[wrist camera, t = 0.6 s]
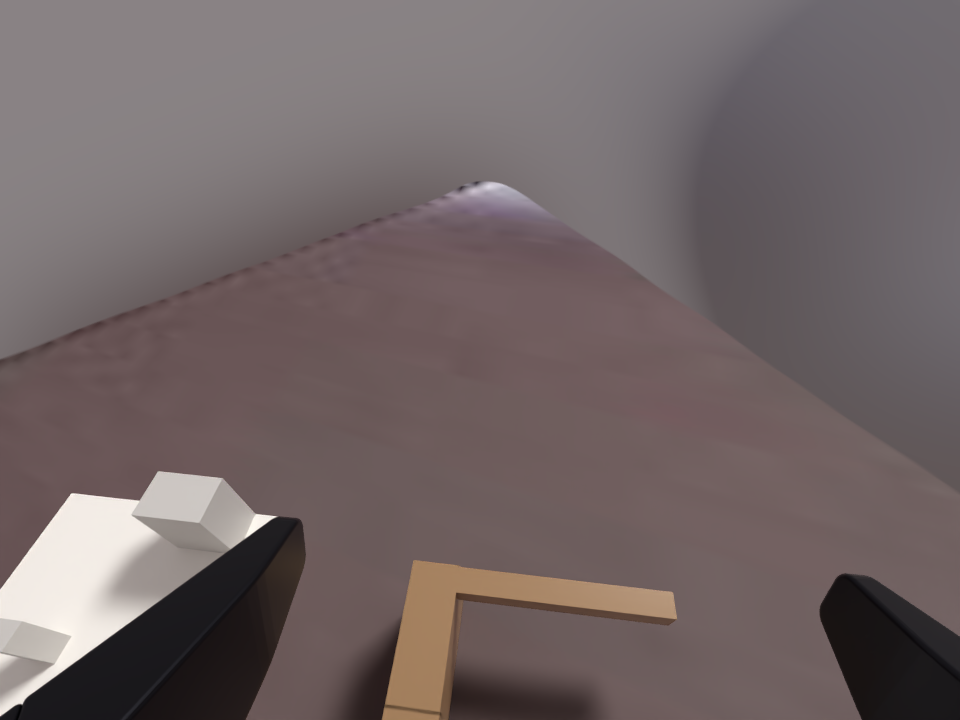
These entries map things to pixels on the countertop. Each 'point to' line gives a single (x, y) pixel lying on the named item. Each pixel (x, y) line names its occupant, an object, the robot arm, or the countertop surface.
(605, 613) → the wooden c-shaped bracket
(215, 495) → the display stand
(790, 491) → the countertop surface
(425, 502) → the countertop surface
